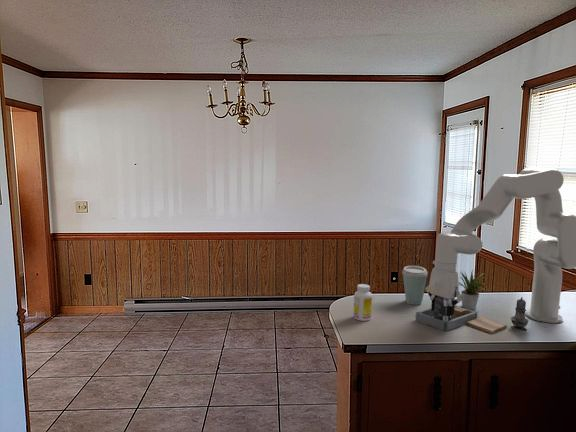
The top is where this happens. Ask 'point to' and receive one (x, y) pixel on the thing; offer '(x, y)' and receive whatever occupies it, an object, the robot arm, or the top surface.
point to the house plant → (470, 291)
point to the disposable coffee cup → (414, 283)
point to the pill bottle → (441, 309)
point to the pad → (486, 325)
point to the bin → (451, 324)
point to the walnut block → (458, 312)
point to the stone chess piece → (519, 316)
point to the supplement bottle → (362, 303)
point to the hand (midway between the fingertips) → (442, 312)
